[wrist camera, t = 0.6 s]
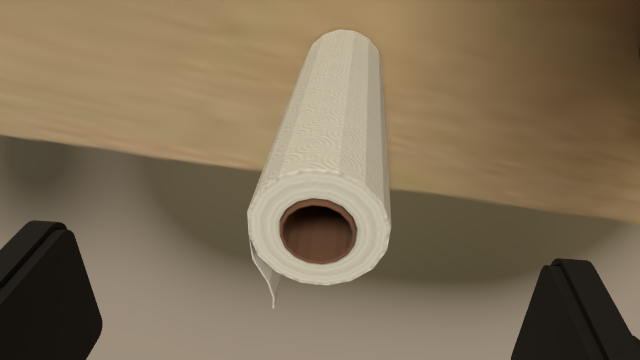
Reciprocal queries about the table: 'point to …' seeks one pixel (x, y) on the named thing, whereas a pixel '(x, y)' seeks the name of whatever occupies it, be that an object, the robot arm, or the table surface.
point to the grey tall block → (326, 171)
